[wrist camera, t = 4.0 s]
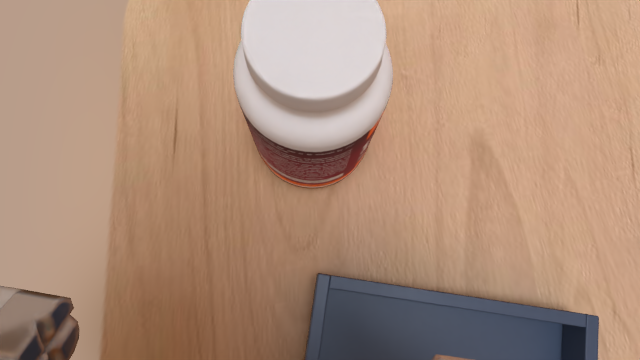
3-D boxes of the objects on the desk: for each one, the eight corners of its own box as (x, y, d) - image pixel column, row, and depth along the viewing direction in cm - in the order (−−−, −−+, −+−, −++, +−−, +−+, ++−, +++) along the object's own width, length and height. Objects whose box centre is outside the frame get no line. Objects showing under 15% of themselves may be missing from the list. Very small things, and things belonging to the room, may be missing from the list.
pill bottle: (376, 181, 25) (428, 111, 14) (263, 197, 24) (226, 137, 13) (358, 76, 26) (392, -65, 15) (250, 89, 25) (207, -44, 15)
